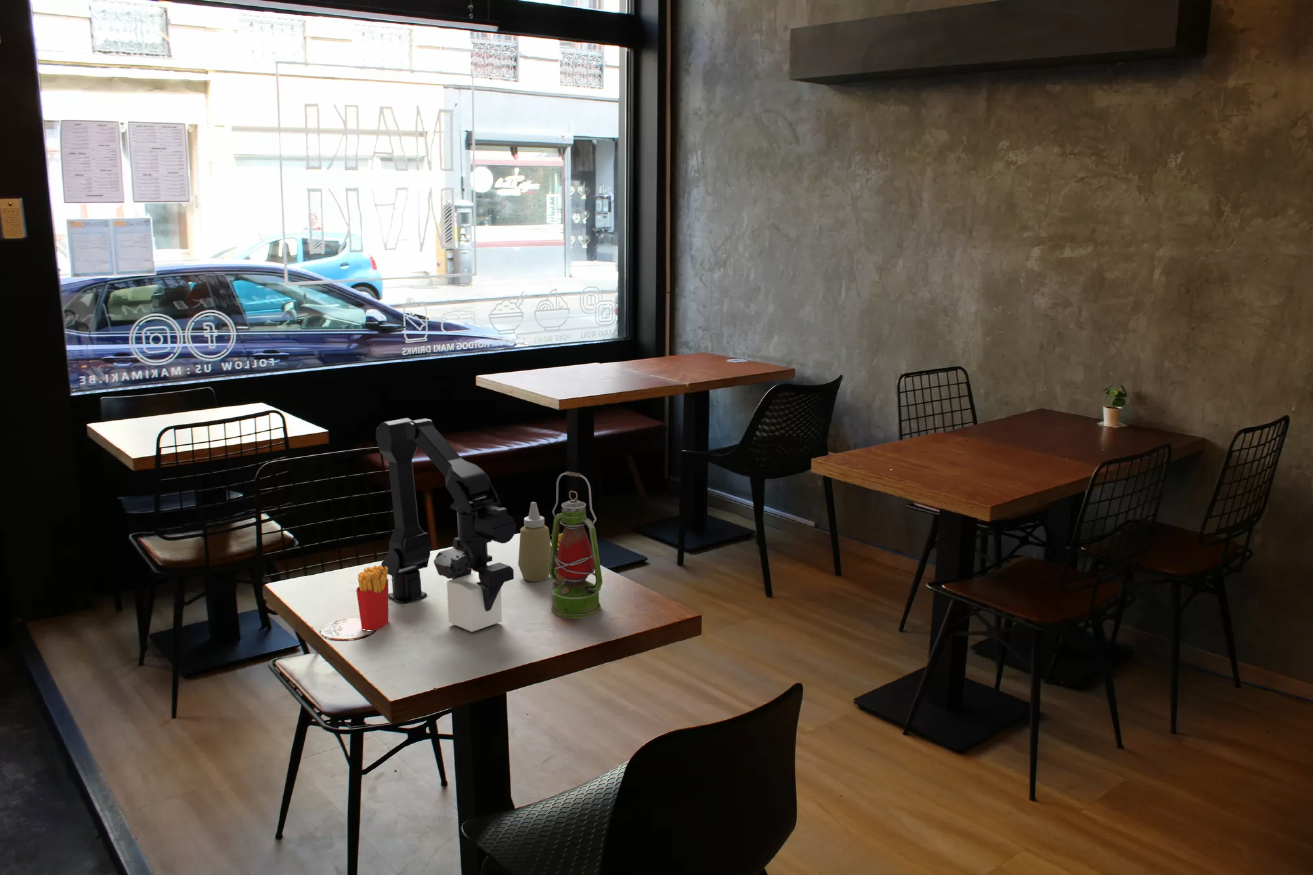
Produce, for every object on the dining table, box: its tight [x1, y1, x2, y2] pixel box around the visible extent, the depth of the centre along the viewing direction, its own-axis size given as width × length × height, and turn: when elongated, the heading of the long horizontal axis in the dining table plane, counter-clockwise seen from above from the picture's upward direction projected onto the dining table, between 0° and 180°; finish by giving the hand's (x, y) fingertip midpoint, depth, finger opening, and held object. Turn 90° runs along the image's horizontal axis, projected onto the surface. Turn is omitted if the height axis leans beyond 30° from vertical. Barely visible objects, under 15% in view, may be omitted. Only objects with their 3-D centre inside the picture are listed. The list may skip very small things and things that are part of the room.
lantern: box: [549, 471, 603, 619], centre depth 222 cm, size 14×11×30 cm
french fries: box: [355, 564, 390, 631], centre depth 216 cm, size 8×4×12 cm, turn 158°
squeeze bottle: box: [517, 501, 552, 582], centre depth 242 cm, size 8×8×18 cm
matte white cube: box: [446, 571, 503, 633], centre depth 216 cm, size 8×8×9 cm
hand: (475, 605), depth 216 cm, fingers closed on matte white cube, 8 cm apart
